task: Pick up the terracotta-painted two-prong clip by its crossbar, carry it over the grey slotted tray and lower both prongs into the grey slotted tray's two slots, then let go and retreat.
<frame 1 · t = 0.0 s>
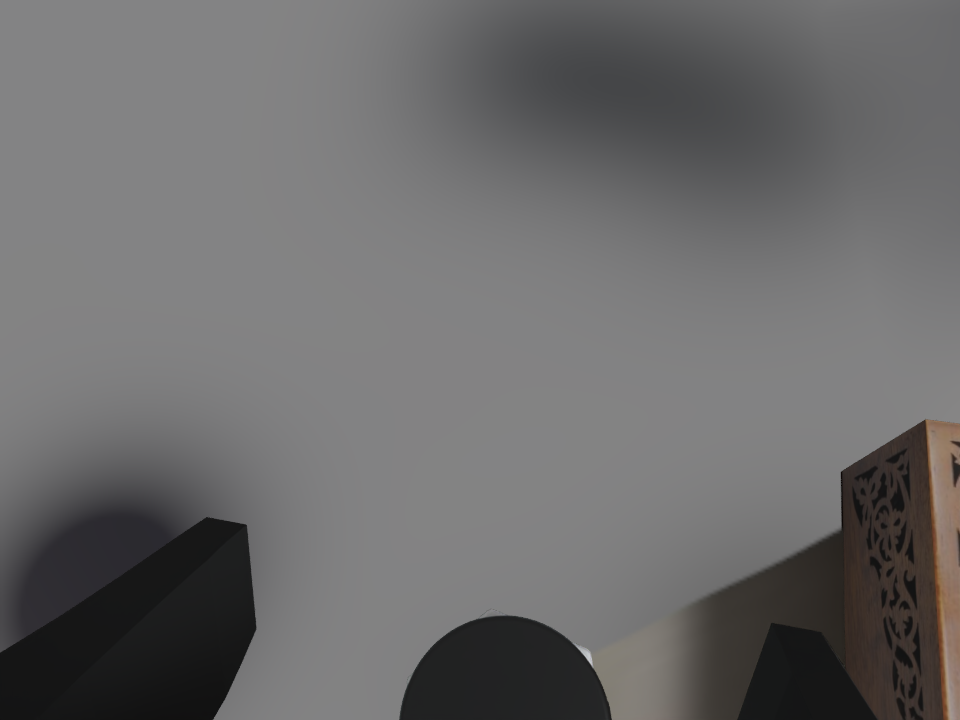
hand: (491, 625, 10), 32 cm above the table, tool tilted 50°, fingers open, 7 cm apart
jar: (512, 709, 39), on the table
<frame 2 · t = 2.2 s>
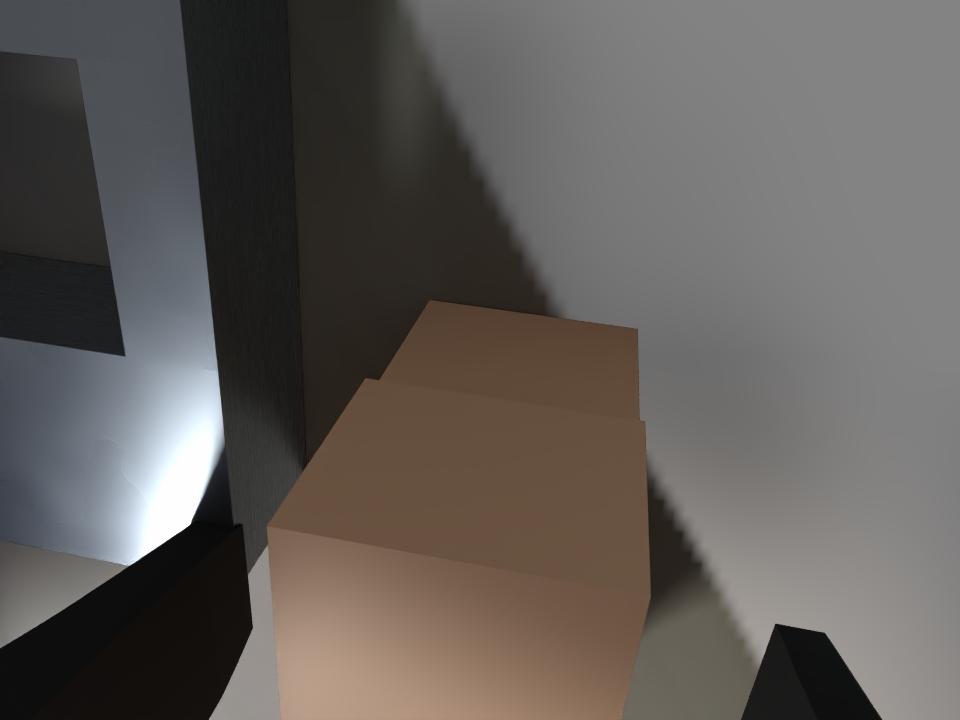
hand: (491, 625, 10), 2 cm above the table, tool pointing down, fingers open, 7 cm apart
clip: (508, 517, 12), on the table
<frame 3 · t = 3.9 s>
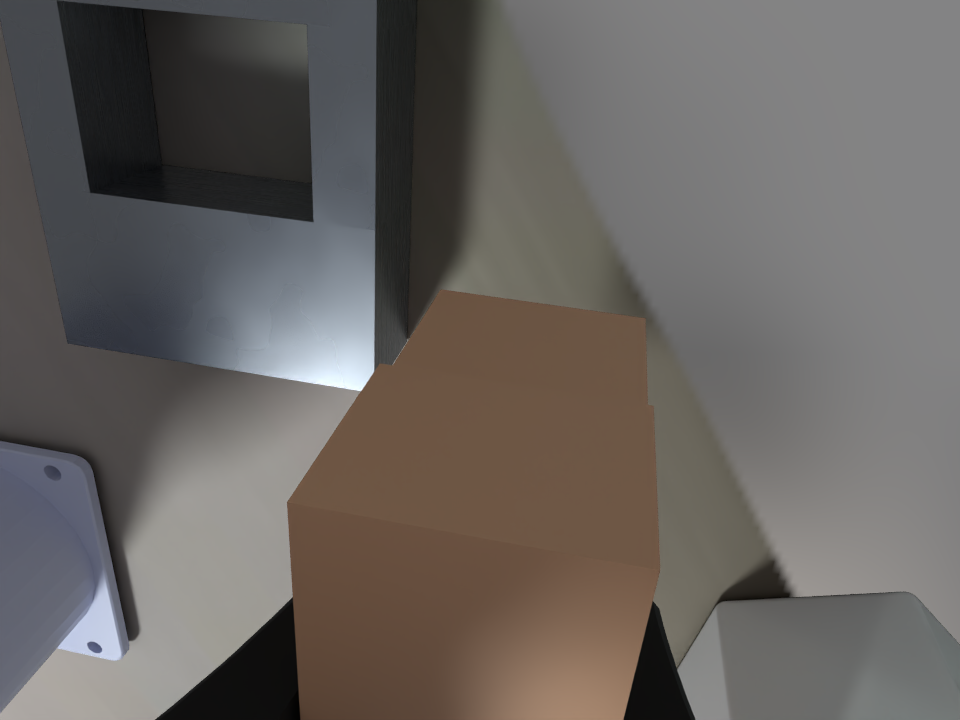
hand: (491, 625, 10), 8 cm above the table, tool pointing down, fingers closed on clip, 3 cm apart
clip: (516, 505, 13), point 5 cm above the table, touching gripper
jar: (819, 694, 20), on the table
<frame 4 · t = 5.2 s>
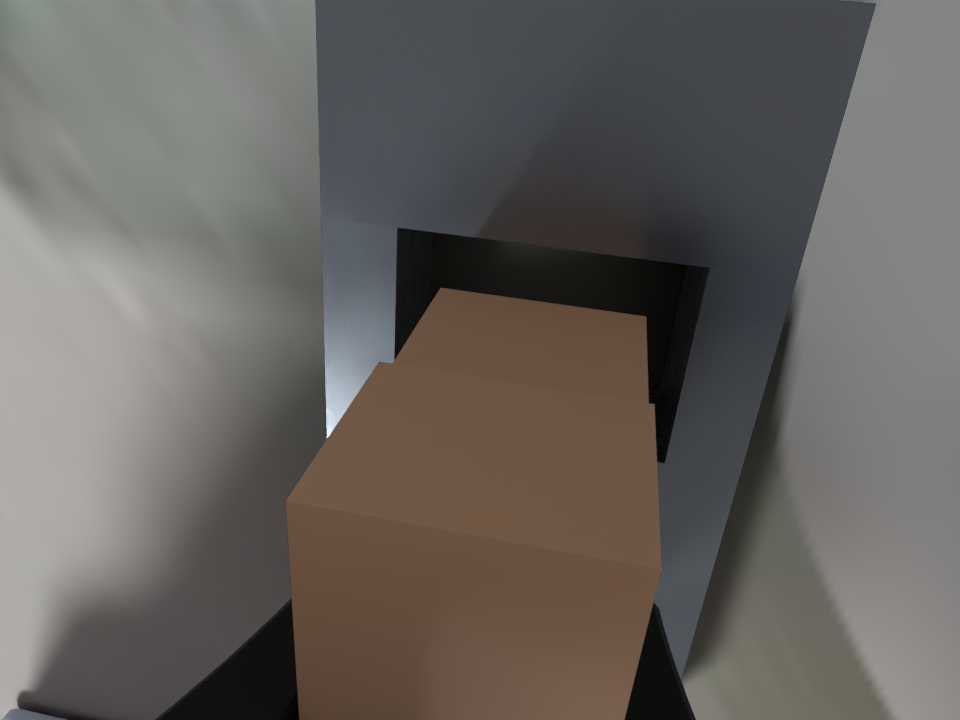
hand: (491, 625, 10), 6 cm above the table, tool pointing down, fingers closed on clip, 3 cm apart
grey slotted tray: (535, 419, 15), on the table
clip: (517, 504, 13), point 3 cm above the table, touching gripper
when the fingers open (3 cm above the table, at t = 6.4 s): clip stays where it is, resting in grey slotted tray.
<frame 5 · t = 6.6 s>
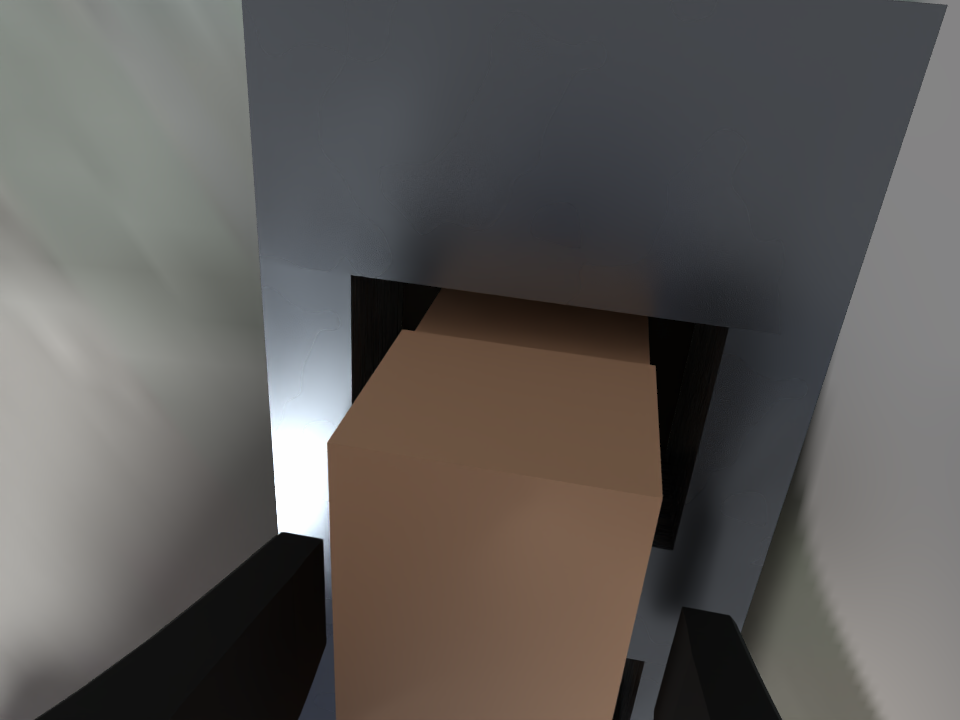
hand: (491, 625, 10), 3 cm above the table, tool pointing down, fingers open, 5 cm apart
grey slotted tray: (523, 480, 13), on the table
clip: (525, 475, 13), resting in grey slotted tray
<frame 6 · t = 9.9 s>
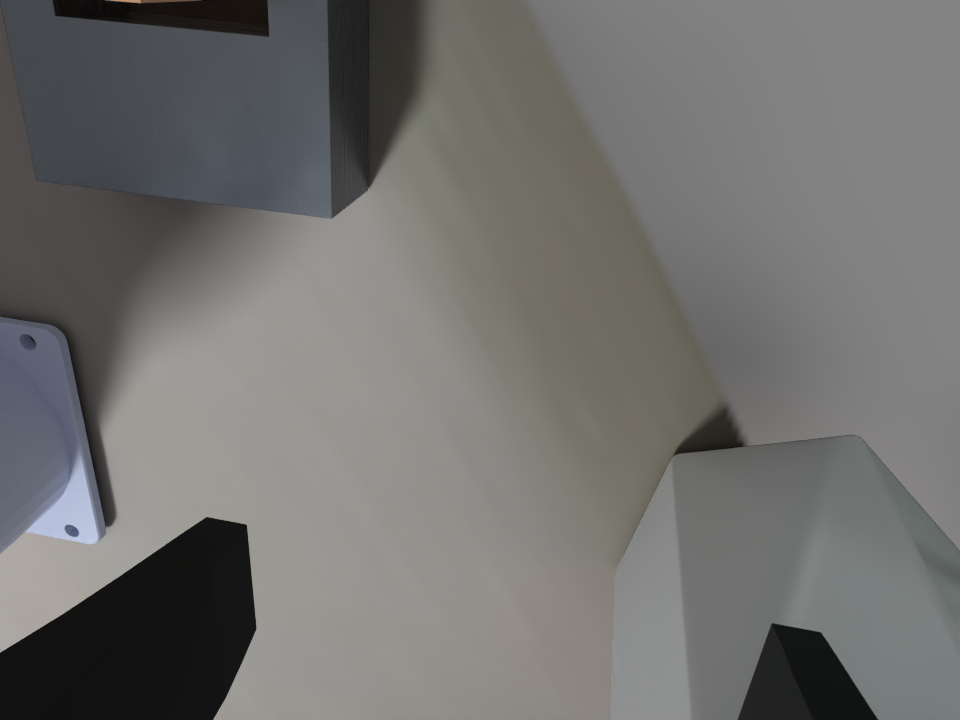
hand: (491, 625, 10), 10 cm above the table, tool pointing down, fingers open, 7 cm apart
jar: (774, 552, 21), on the table
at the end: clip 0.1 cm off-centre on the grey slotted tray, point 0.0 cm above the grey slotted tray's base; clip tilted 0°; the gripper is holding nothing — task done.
